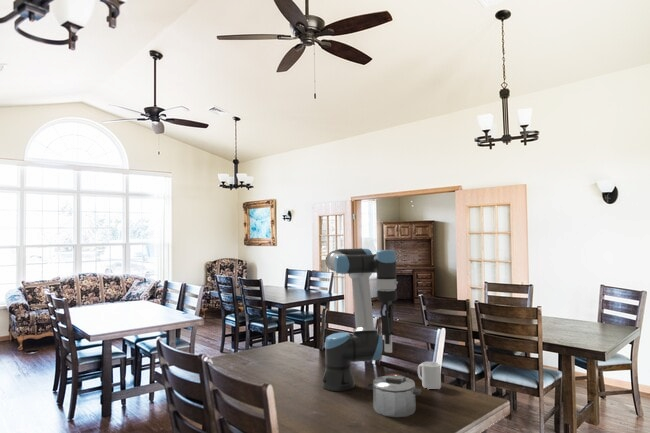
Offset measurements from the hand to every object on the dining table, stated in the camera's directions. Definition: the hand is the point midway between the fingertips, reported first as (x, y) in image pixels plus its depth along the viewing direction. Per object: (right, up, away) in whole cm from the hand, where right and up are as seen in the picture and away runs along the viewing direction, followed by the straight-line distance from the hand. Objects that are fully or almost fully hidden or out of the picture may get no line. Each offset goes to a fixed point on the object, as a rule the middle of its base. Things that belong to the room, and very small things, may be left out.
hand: (388, 351), depth 158 cm
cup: (+23, -26, +30) cm, 46 cm away
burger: (+8, -26, +32) cm, 42 cm away
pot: (+3, -24, +5) cm, 25 cm away
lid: (+3, -15, +6) cm, 16 cm away
